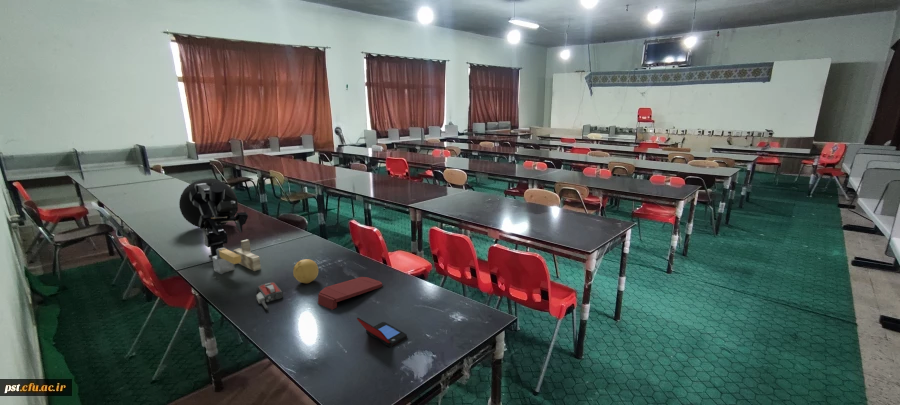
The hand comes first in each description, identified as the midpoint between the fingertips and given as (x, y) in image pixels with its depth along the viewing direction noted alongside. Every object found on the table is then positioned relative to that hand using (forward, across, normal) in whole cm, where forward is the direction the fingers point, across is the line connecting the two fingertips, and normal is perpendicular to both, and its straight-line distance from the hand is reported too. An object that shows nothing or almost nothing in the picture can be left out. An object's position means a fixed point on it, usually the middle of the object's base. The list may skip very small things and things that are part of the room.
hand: (230, 233), depth 170 cm
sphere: (-57, +21, +57) cm, 83 cm away
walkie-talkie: (+40, +1, -4) cm, 40 cm away
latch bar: (+6, 0, +10) cm, 12 cm away
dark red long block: (+55, +23, -17) cm, 63 cm away
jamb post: (+5, 0, +19) cm, 20 cm away
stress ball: (+37, +18, -5) cm, 41 cm away
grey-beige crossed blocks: (+6, +11, +17) cm, 21 cm away
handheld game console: (+84, +12, -34) cm, 91 cm away
